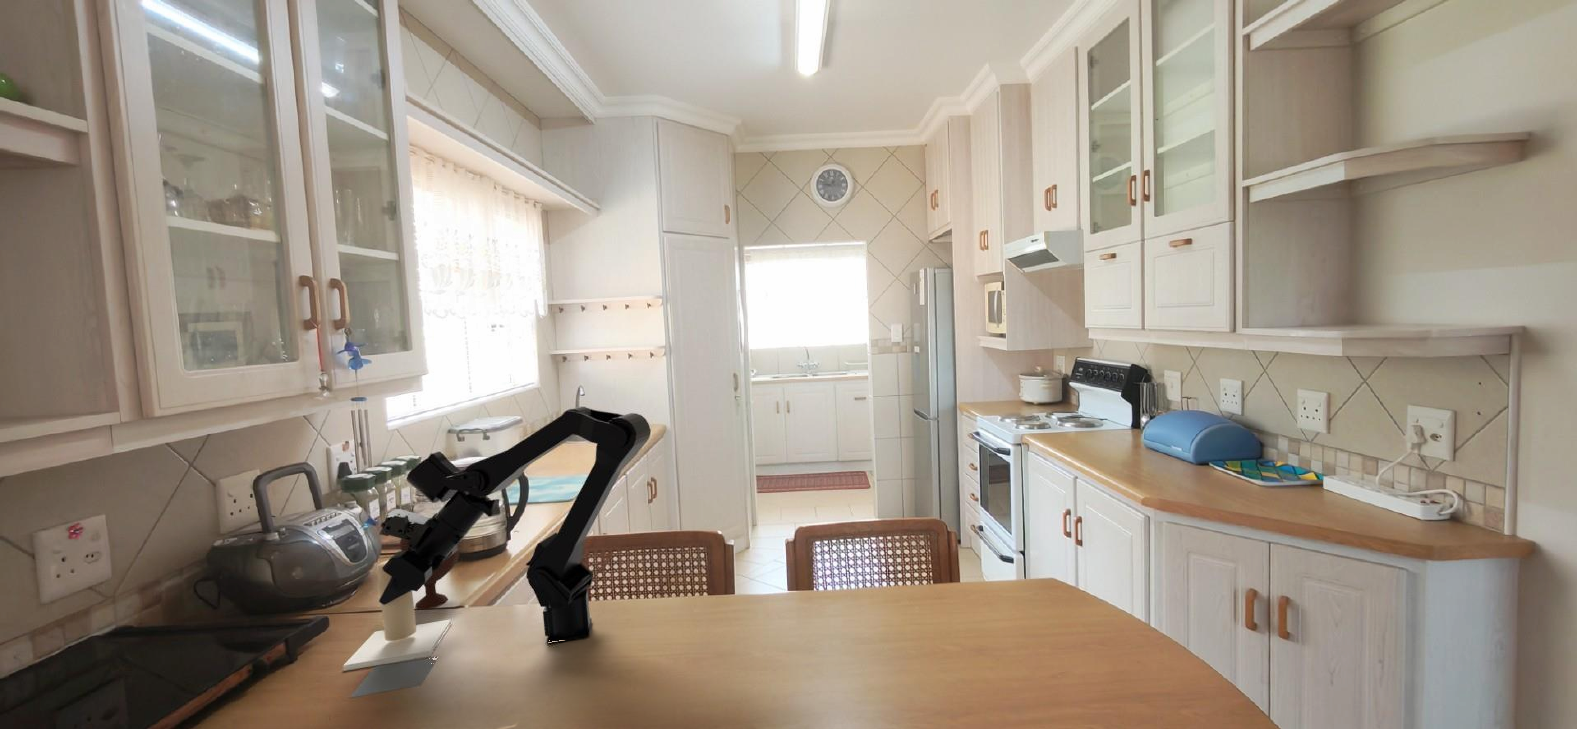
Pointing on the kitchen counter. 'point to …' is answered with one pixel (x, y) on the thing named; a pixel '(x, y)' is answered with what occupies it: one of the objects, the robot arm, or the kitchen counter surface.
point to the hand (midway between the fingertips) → (387, 597)
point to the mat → (395, 676)
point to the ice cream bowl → (434, 580)
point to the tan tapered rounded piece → (396, 611)
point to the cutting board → (398, 646)
